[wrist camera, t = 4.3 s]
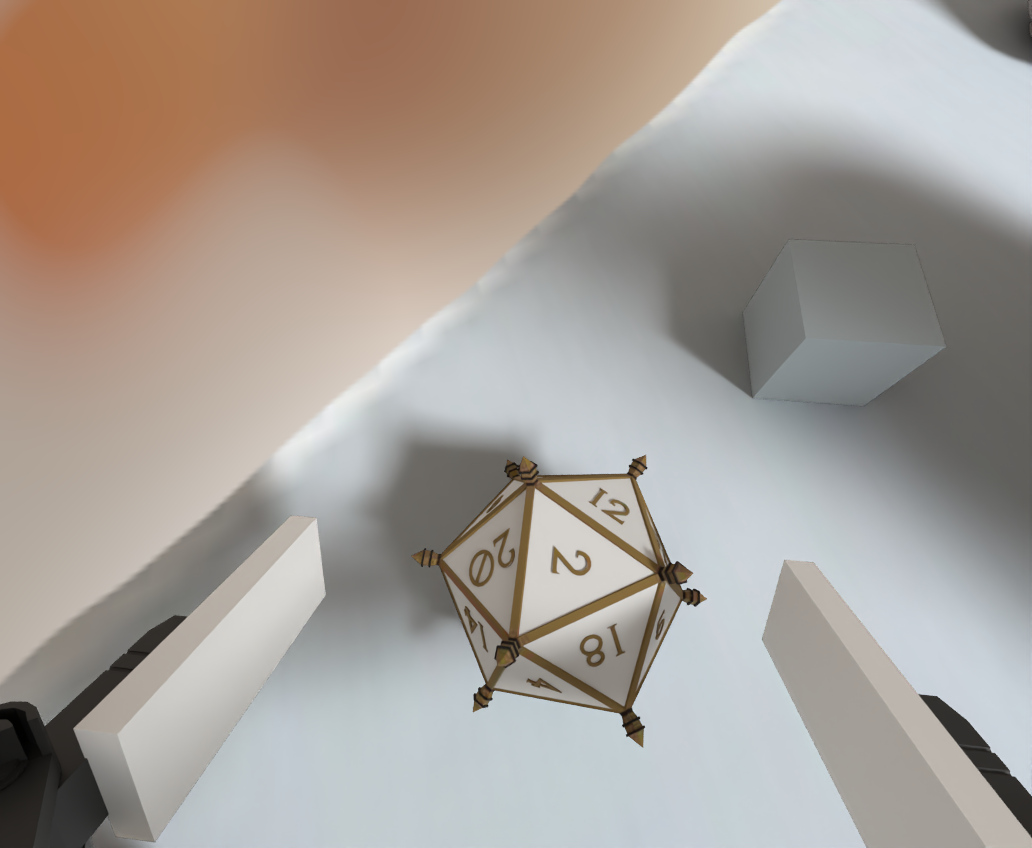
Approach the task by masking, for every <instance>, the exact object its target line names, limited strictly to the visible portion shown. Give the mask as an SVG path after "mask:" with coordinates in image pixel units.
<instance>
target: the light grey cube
mask: <svg viewBox="0 0 1032 848" xmlns="http://www.w3.org/2000/svg"><path fill="white" fill-rule="evenodd" d="M743 318H744V327H745V336H746V345H747V354H748V363H749V372H750V380H751V389H752V398H755V399H770V400H784V401H798V402H813V403H827V404H842V405H856V406H865V405H866V404H868V403H869V402H870V401H872V400H873V399H874V398H876V397H877V396H879V395H880V394H881V393H883V392H884V391H886V390H887V389H888V388H890V387H891V386H893V385H894V384H895V383H897V382H898V381H899V380H901V379H902V378H904V377H905V376H906V375H908V374H909V373H911V372H912V371H913V370H915V369H916V368H918V367H919V366H920V365H922V364H923V363H924V362H926V361H927V360H929V359H930V358H931V357H933V356H934V355H936V354H937V353H938V352H940V351H941V350H943V349H944V348H945V347H946V344H945V340H944V337H943V334H942V331H941V328H940V324H939V321H938V318H937V315H936V312H935V309H934V305H933V302H932V299H931V296H930V293H929V289H928V286H927V283H926V280H925V277H924V274H923V270H922V267H921V264H920V261H919V258H918V254H917V251H916V248H915V245H909V244H887V243H865V242H843V241H821V240H799V239H788V241H787V243H786V244H785V246H784V247H783V249H782V251H781V252H780V254H779V255H778V257H777V259H776V260H775V262H774V263H773V265H772V267H771V268H770V270H769V271H768V273H767V275H766V276H765V278H764V279H763V281H762V282H761V284H760V286H759V287H758V289H757V290H756V292H755V294H754V295H753V297H752V298H751V300H750V302H749V303H748V305H747V306H746V308H745V310H744V311H743Z"/></svg>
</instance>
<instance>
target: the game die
mask: <svg viewBox="0 0 1032 848" xmlns="http://www.w3.org/2000/svg"><path fill="white" fill-rule="evenodd" d="M632 461H633V462H632V464H631V465H629V467H630V468H629V472H628V473H627V474H590V475H538V476H537V474H538V473H539V471H537V470H536V467H537V464H535V463H533V462H532V461H529V460H528V459H526V458H525V457H524V456H523V458H522V461H521V464H520V465H517V464H516V463H515V462H514V463H512V462H511V461H509V460H507V465H506V467H505V471H504V472H506V473H507V477H510V478H511V479H512V480H511V481H510V482H509V483H508V484H507V485H506V486H505V487H504V488H503V489H502V491H501V492H500V493H499V494H498V495H497V496H496V497H495V498H494V499H493V500H492V501H491V502H490V503H489V504H488V505H487V506H486V507H485V508H484V510H483V511H482V512H481V513H480V514H479V515H478V516H477V517H476V518H475V519H474V520H473V521H472V522H471V523H470V524H469V525H468V526H467V527H466V528H465V530H464V531H463V532H462V533H461V534H460V535H459V536H458V537H457V538H456V539H455V540H454V541H453V542H452V543H451V544H450V545H449V546H448V547H447V548H446V550H445V551H444V552H443V553H442V554H437V553H435V552H433V550H431V551H428V550H426V548H424V550H423V551H421V552H419V553H416V554H414V555H412V557H413V558H414V559H415V560H416V561H417V562H419V563H420V564H421V567H423V565H427V566H428V567H430V566H432V565H438V566H439V567H440V569H441V572H442V574H443V577H444V579H445V582H446V584H447V587H448V589H449V592H450V594H451V597H452V599H453V602H454V605H455V607H456V610H457V612H458V615H459V617H460V620H461V622H462V625H463V627H464V630H465V632H466V635H467V637H468V640H469V642H470V645H471V647H472V650H473V652H474V655H475V658H476V660H477V663H478V665H479V668H480V670H481V673H482V675H483V678H484V680H485V683H486V684H485V685H484V686H483V687H481V688H480V687H479V688H478V692H477V693H476V694H475V693H474V706H473V712H475V711H477V710H479V709H481V708H485V707H488V703H489V701H491V700H492V694H493V692H494V691H495V690H496V691H501V692H506V693H512V694H517V695H523V696H528V697H533V698H539V699H544V700H550V701H555V702H560V703H566V704H571V705H577V706H582V707H587V708H593V709H598V710H604V711H609V712H614V713H620V715H621V716H622V719H623V725H622V726H623V727H625V729H626V732H627V735H626V736H627V737H628V736H629V737H630V738H631V739H633V740H634V741H635V742H636V743H638V744H639V745H640V746H641V747H643V733H644V728H645V726H642V724H641V722H640V720H639V719H640V717H637V716H636V715H635V713H634V712H633V711H632V705H633V703H634V701H635V699H636V697H637V695H638V693H639V691H640V688H641V686H642V684H643V682H644V680H645V678H646V676H647V674H648V671H649V669H650V667H651V665H652V663H653V661H654V659H655V657H656V655H657V652H658V650H659V648H660V646H661V644H662V642H663V640H664V638H665V636H666V633H667V631H668V629H669V627H670V625H671V623H672V621H673V619H674V617H675V614H676V612H677V610H678V608H679V606H680V604H681V602H682V601H684V602H686V603H687V605H690V604H693V605H694V606H695V607H696V606H697V605H698V604H699V603H700V602H702V601H704V600H706V599H707V598H705V597H704V596H703V595H702V594H700V591H698V590H696V589H693V590H691V589H689V588H687V590H682V588H681V586H680V584H683V583H687V579H688V578H689V577H690V576H691V575H692V574H693V572H691V571H689V570H688V569H687V568H686V567H684V566H683V565H682V564H681V563H679V562H678V561H677V562H676V563H675V564H672V563H671V562H670V560H669V557H668V555H667V553H666V550H665V548H664V545H663V543H662V541H661V538H660V536H659V534H658V531H657V529H656V526H655V524H654V522H653V519H652V517H651V515H650V512H649V510H648V507H647V505H646V503H645V500H644V498H643V496H642V493H641V491H640V488H639V486H638V484H637V481H636V478H637V477H638V476H639V475H643V473H642V472H643V471H644V470H645V469H647V467H646V455H644V456H642V457H639V458H637V459H632ZM520 474H521V476H520Z"/></svg>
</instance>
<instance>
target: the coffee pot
mask: <svg viewBox="0 0 1032 848" xmlns="http://www.w3.org/2000/svg"><path fill="white" fill-rule="evenodd" d="M1028 14H1029V16H1030V18H1031V20H1032V0H1028ZM1029 32H1030V34H1031V37H1032V21H1031V23H1030V28H1029Z"/></svg>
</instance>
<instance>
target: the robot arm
mask: <svg viewBox="0 0 1032 848" xmlns="http://www.w3.org/2000/svg"><path fill="white" fill-rule="evenodd" d="M325 595H326V593H325V585H324V576H323V568H322V560H321V551H320V543H319V535H318V526H317V518H313V517H301V516H290V517H289V518H288V519H287V520H286V521H285V522H284V523H283V524H282V525H281V526H280V527H279V528H278V529H277V530H276V531H275V532H274V533H273V534H272V535H271V536H270V537H269V538H268V539H267V540H266V541H265V542H264V543H263V544H262V545H261V546H260V547H259V548H258V549H257V550H256V551H254V552H253V553H252V554H251V555H250V556H249V557H248V558H247V559H246V560H245V561H244V562H243V563H242V564H241V565H240V566H239V567H238V568H237V569H236V570H235V571H234V572H233V573H232V574H231V575H230V576H229V577H228V578H227V579H226V580H225V581H224V582H223V583H222V584H221V585H220V586H219V587H218V588H217V589H216V590H215V591H214V592H213V593H212V594H211V595H209V596H208V597H207V598H206V599H205V600H204V601H203V602H202V603H201V604H200V605H199V606H198V607H197V608H196V609H195V610H194V611H193V612H192V613H191V614H190V615H189V616H188V617H185V616H176V615H175V616H173V617H171V618H170V619H168V620H166V621H165V622H163V623H161V624H160V625H158V626H156V627H154V628H153V629H151V630H149V631H148V632H147V633H146V634H145V635H144V636H143V637H142V638H140V639H139V640H138V641H137V642H136V643H135V644H134V645H133V646H132V647H131V648H130V649H128V652H127V654H123V655H122V656H121V657H120V658H119V659H118V660H117V661H115V662H114V663H113V664H112V665H111V666H110V669H109V670H108V671H107V670H106V671H105V672H103V673H102V674H101V675H100V676H99V677H98V678H97V679H96V680H95V681H94V682H93V683H92V684H90V685H89V686H88V687H87V688H86V689H85V690H84V691H83V692H82V693H81V694H80V695H78V696H77V697H76V698H75V699H74V700H73V701H72V702H71V703H70V704H69V705H68V706H67V707H65V708H64V709H63V710H62V711H61V712H60V713H59V714H58V715H57V716H56V717H55V718H53V719H52V720H51V721H50V722H49V723H48V724H47V725H46V726H45V727H44V724H43V722H42V720H41V717H40V715H39V712H38V710H37V708H36V707H35V706H33V705H32V704H30V703H28V702H8V703H4V704H0V848H93V844H92V838H91V836H92V834H93V833H94V832H95V831H96V829H97V828H98V827H99V826H100V824H101V823H102V822H103V821H104V819H105V818H106V817H107V816H108V818H109V821H110V824H111V826H112V829H113V831H114V834H115V836H116V837H122V838H128V839H135V840H142V841H149V842H156V840H157V839H158V837H159V836H160V834H161V833H162V831H163V830H164V829H165V827H166V826H167V824H168V823H169V821H170V820H171V818H172V817H173V816H174V814H175V813H176V811H177V810H178V808H179V807H180V805H181V804H182V802H183V801H184V800H185V798H186V797H187V795H188V794H189V792H190V791H191V789H192V788H193V787H194V785H195V784H196V782H197V781H198V779H199V778H200V776H201V775H202V773H203V772H204V771H205V769H206V768H207V766H208V765H209V763H210V762H211V760H212V759H213V758H214V756H215V755H216V753H217V752H218V750H219V749H220V747H221V746H222V744H223V743H224V742H225V740H226V739H227V737H228V736H229V734H230V733H231V731H232V730H233V729H234V727H235V726H236V724H237V723H238V721H239V720H240V718H241V717H242V715H243V714H244V713H245V711H246V710H247V708H248V707H249V705H250V704H251V702H252V701H253V700H254V698H255V697H256V695H257V694H258V692H259V691H260V689H261V688H262V686H263V685H264V684H265V682H266V681H267V679H268V678H269V676H270V675H271V673H272V672H273V671H274V669H275V668H276V666H277V665H278V663H279V662H280V660H281V659H282V657H283V656H284V655H285V653H286V652H287V650H288V649H289V647H290V646H291V644H292V643H293V642H294V640H295V639H296V637H297V636H298V634H299V633H300V631H301V630H302V628H303V627H304V626H305V624H306V623H307V621H308V620H309V618H310V617H311V615H312V614H313V613H314V611H315V610H316V608H317V607H318V605H319V604H320V602H321V601H322V599H323V598H324V597H325ZM762 641H763V643H764V645H765V647H766V649H767V651H768V653H769V655H770V657H771V659H772V661H773V663H774V664H775V666H776V668H777V670H778V672H779V674H780V676H781V678H782V680H783V682H784V684H785V686H786V688H787V690H788V692H789V694H790V696H791V698H792V700H793V702H794V704H795V706H796V708H797V710H798V712H799V714H800V716H801V718H802V720H803V722H804V724H805V726H806V728H807V730H808V732H809V734H810V736H811V738H812V740H813V742H814V744H815V746H816V748H817V750H818V752H819V754H820V756H821V758H822V760H823V762H824V764H825V766H826V768H827V770H828V772H829V774H830V776H831V778H832V780H833V782H834V784H835V786H836V788H837V790H838V792H839V794H840V796H841V798H842V800H843V802H844V804H845V806H846V808H847V810H848V812H849V814H850V816H851V818H852V820H853V822H854V824H855V825H856V827H857V829H858V831H859V833H860V835H861V837H862V839H863V841H864V843H865V845H866V847H867V848H1032V796H1031V795H1030V794H1029V793H1028V791H1027V790H1026V789H1025V788H1024V787H1023V785H1022V784H1021V783H1020V782H1019V781H1018V780H1017V778H1016V777H1013V776H1011V774H1010V770H1009V769H1008V768H1007V767H1006V765H1005V764H1004V763H1003V762H1002V761H1001V760H1000V758H999V757H998V756H997V755H996V754H995V753H992V752H991V750H990V747H989V746H988V744H987V743H986V742H985V741H984V740H983V738H982V737H981V736H980V735H979V734H978V733H977V731H976V730H975V729H974V728H973V727H972V726H971V724H970V723H969V722H968V721H967V720H966V719H965V718H963V717H962V716H961V715H960V714H958V713H957V712H956V711H955V710H953V709H952V708H951V707H950V706H948V705H947V704H946V703H945V702H943V701H942V700H941V699H940V698H938V697H937V696H929V695H920V694H918V693H917V692H916V691H915V690H914V688H913V687H912V686H911V685H910V683H909V682H908V681H907V680H906V678H905V677H904V676H903V675H902V673H901V672H900V671H899V669H898V668H897V667H896V666H895V664H894V663H893V662H892V661H891V659H890V658H889V657H888V656H887V654H886V653H885V652H884V651H883V649H882V648H881V647H880V645H879V644H878V643H877V642H876V640H875V639H874V638H873V637H872V635H871V634H870V633H869V632H868V630H867V629H866V628H865V627H864V625H863V624H862V623H861V621H860V620H859V619H858V618H857V616H856V615H855V614H854V613H853V611H852V610H851V609H850V608H849V606H848V605H847V604H846V603H845V601H844V600H843V599H842V597H841V596H840V595H839V594H838V592H837V591H836V590H835V589H834V587H833V586H832V585H831V584H830V582H829V581H828V580H827V578H826V577H825V576H824V575H823V573H822V572H821V571H820V570H819V568H818V567H817V566H816V565H815V563H814V562H802V561H791V560H784V563H783V566H782V570H781V574H780V577H779V581H778V584H777V588H776V591H775V595H774V598H773V602H772V605H771V609H770V613H769V616H768V620H767V623H766V627H765V630H764V634H763V637H762Z"/></svg>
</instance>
